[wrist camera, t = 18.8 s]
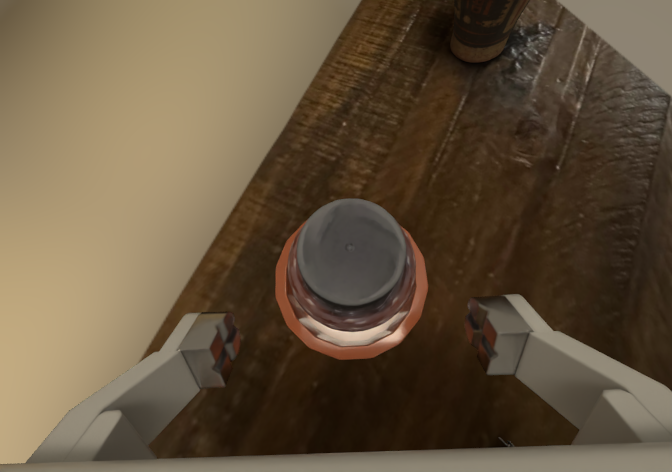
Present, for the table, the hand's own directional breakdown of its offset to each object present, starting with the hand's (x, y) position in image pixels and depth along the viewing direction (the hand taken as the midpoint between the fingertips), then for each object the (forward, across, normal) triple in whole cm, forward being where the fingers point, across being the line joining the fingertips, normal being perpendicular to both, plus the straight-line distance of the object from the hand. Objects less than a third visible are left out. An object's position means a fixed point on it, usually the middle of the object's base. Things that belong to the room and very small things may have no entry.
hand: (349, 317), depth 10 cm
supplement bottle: (+9, 0, +6) cm, 11 cm away
